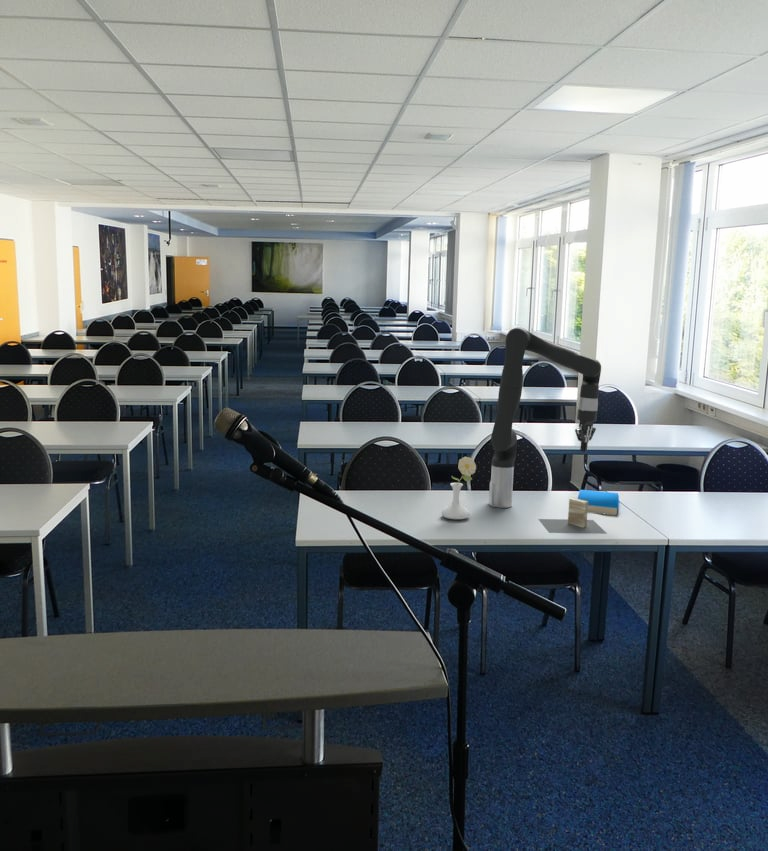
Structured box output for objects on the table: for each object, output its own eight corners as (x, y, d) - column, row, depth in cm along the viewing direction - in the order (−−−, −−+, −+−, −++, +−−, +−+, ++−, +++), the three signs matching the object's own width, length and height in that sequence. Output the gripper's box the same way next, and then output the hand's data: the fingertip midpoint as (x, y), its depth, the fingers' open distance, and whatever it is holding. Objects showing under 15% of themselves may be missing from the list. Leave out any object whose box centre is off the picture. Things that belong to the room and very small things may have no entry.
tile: (582, 527, 302) (584, 502, 300) (567, 523, 307) (569, 498, 305) (586, 526, 303) (588, 501, 302) (571, 522, 309) (573, 497, 307)
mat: (549, 534, 295) (549, 532, 294) (538, 520, 312) (538, 519, 312) (607, 535, 295) (607, 533, 295) (592, 521, 313) (593, 519, 313)
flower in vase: (443, 521, 307) (445, 459, 303) (439, 513, 318) (441, 453, 314) (476, 522, 308) (479, 459, 304) (471, 514, 319) (473, 453, 315)
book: (576, 503, 327) (579, 488, 351) (575, 513, 328) (578, 498, 351) (619, 507, 322) (619, 492, 346) (618, 517, 323) (618, 501, 347)
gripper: (587, 406, 322) (583, 448, 325) (570, 408, 313) (566, 451, 315) (604, 409, 317) (599, 451, 320) (587, 410, 308) (583, 454, 310)
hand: (583, 451), depth 318 cm, fingers closed
